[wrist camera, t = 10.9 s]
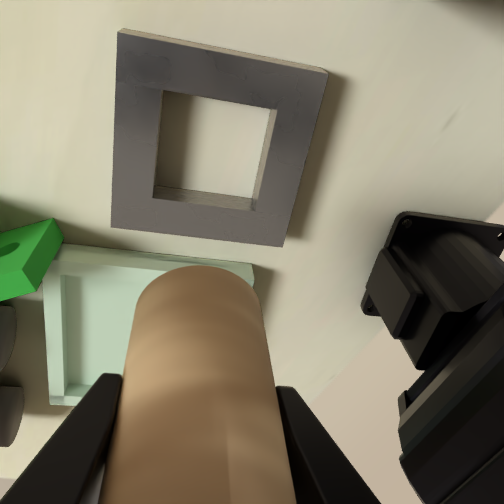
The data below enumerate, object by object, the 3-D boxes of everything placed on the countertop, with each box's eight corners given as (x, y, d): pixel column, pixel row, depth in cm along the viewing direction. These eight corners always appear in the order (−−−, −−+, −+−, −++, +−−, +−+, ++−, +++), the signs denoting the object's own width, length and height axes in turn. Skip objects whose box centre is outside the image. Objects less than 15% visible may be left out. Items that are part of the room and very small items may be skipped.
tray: (251, 263, 23) (254, 280, 22) (221, 392, 28) (222, 412, 27) (50, 241, 21) (41, 258, 20) (56, 384, 26) (49, 404, 25)
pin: (275, 271, 11) (389, 718, 5) (249, 366, 13) (301, 789, 6) (137, 255, 11) (27, 749, 4) (128, 358, 12) (43, 820, 6)
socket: (320, 67, 18) (328, 73, 17) (278, 233, 22) (282, 247, 21) (123, 28, 17) (117, 32, 16) (115, 213, 21) (110, 227, 20)
